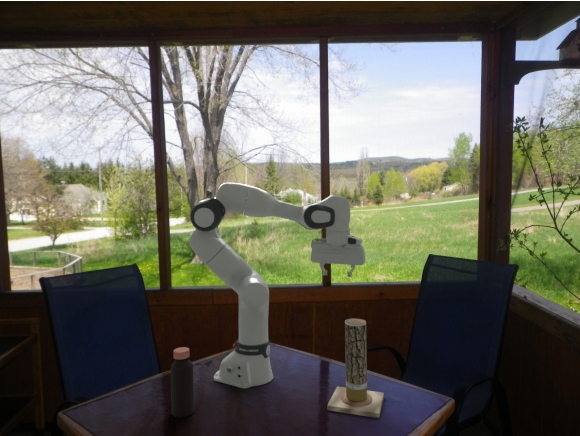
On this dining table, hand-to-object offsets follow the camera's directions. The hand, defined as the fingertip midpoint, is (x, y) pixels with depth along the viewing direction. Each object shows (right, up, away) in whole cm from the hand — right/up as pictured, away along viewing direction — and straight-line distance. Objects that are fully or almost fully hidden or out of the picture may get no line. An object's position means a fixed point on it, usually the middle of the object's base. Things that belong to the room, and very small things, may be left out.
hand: (337, 276), depth 149 cm
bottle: (-51, -40, -23) cm, 69 cm away
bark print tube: (+4, -37, -19) cm, 42 cm away
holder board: (+4, -39, -19) cm, 43 cm away
